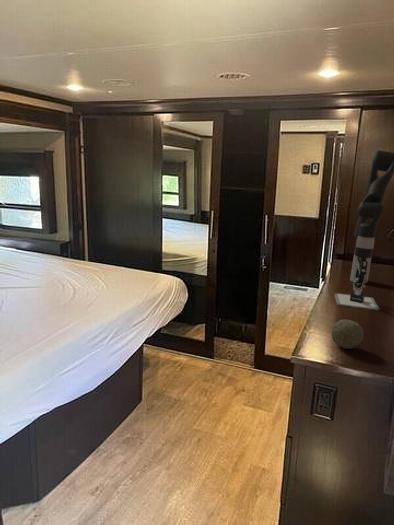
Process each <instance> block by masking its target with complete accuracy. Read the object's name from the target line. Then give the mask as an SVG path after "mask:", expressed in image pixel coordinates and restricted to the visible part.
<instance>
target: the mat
mask: <svg viewBox="0 0 394 525" xmlns="http://www.w3.org/2000/svg"><path fill="white" fill-rule="evenodd" d="M334 294H335V295H334V298H335V301H336V304H337V306H339V307H344V308H345V307H347V308H356V309H362V310H369V311H370V310H371V311H378V312H380V311H381V309H380V307H379V306H378V304H377V302H376V300H375V299H374V298H373V297H369V296H365V297H364V301H363V303H358V302H353V301H350V296H351V294H347V293H339V292H338V293H337V292H334Z"/></svg>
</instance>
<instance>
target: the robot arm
mask: <svg viewBox="0 0 394 525" xmlns="http://www.w3.org/2000/svg"><path fill="white" fill-rule="evenodd" d="M370 168H371V169H370V171H369V178H368V182H367V185H366V188H365V192H364V197H363V198H362V199H363V200H362V201H361V202H360V203H359V205H358V207H357V215H358V219H357V222H356V224H355V228H354V231H353V232H354V233H353V234H354V238H355V239H356V241H355V247H354V252H353V258H352V259H353V260H352V265H351V271H350V276H349V281H350V282H354V281H355V280H356V279H358V282H359V283H363V281H364V284H367V283H368V279H369V275H370V269H371V262H372V256H373V252H374V246H375V241H376V236H377V231H378V224H379V221H380V220H381V217H382V216H383V213H384V211H385V210H384V208H385V207H384V206H383V200H384V197H385V194H386V192H387V187H388V185H389V183H390V182H391V180H392V178H393V175H394V152H392V151H386V150H377V151H376V152H375V153H374V155H373V158H372V162H371V167H370ZM379 172H385V173H384V174H382V175H381V176H380V177H379ZM368 219H371V220H372V221H370V222H367V220H368Z"/></svg>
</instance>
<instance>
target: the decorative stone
mask: <svg viewBox="0 0 394 525" xmlns="http://www.w3.org/2000/svg"><path fill="white" fill-rule="evenodd" d="M364 335H365V334H364V329H363V328H362V326H361V325H360V324H359V322H356V321H353V320H350V319H345V318H344V319H343V318H342V319H340V320H338V321H337V322H335V324H334V325H333V327H332V329H331V338H332V340H333V342H334V343H335V344H336V346H337V347H339V348H341V349H344V350H351V349H354V348H356V347H357V346H359V345H360V343H361V342H362V341H363V340H364Z"/></svg>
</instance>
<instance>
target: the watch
mask: <svg viewBox="0 0 394 525" xmlns="http://www.w3.org/2000/svg"><path fill="white" fill-rule="evenodd" d="M352 287H353V292H351V294H350V295H351V296H350V301H353V302H358V303H363V301H364V297H366V295H365V294H362V291H363V289H364V288H366V285H365V283H364V281H363V283H359V282H358V279H356V280H355V281H354V282H353V283H352Z"/></svg>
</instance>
